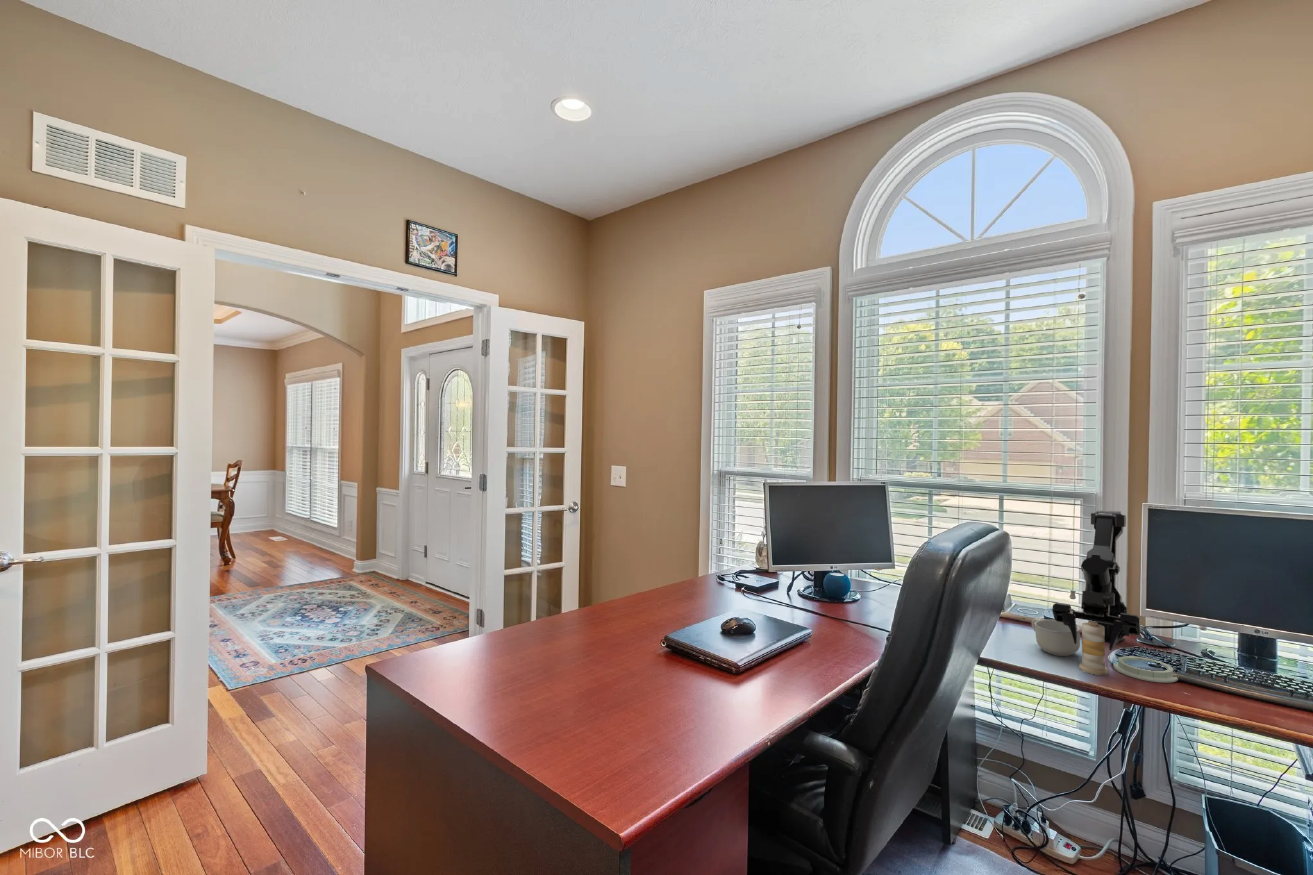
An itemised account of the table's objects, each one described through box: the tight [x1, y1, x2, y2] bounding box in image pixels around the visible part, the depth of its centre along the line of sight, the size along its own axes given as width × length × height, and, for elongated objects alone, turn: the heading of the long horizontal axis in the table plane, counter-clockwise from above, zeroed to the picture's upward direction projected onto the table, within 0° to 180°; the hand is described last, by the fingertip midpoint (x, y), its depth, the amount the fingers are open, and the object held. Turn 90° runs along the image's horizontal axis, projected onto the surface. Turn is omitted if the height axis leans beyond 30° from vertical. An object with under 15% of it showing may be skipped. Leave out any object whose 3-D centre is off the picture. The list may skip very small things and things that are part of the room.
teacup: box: [1031, 617, 1081, 657], centre depth 170 cm, size 14×11×8 cm
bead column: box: [1078, 621, 1109, 676], centre depth 155 cm, size 6×6×13 cm
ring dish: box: [1113, 655, 1179, 684], centre depth 153 cm, size 13×13×2 cm
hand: (1092, 646), depth 154 cm, fingers open, 7 cm apart
